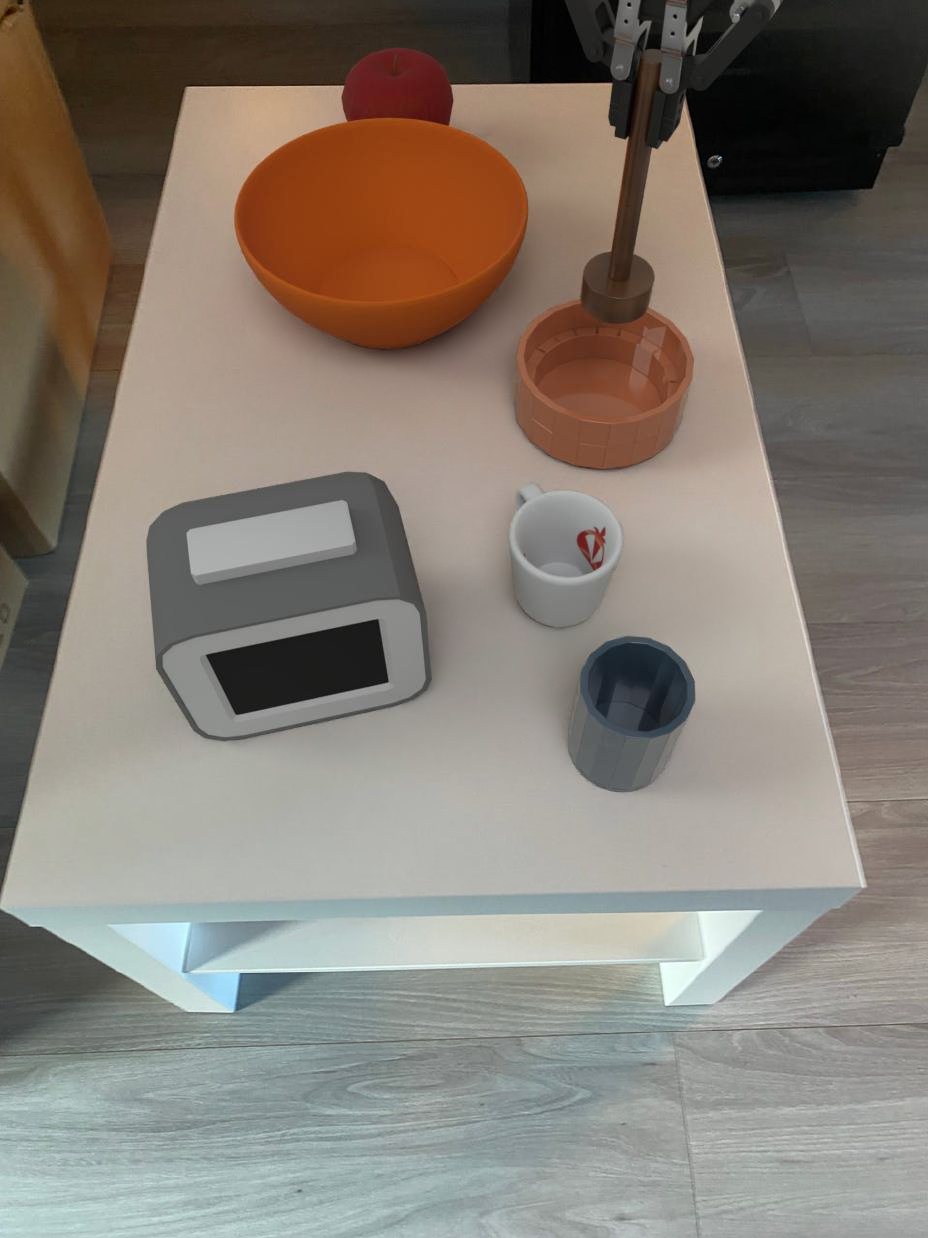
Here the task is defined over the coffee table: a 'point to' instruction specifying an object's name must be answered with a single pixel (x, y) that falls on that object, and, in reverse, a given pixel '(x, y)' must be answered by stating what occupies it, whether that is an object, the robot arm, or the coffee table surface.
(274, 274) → the bowl
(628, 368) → the mixing bowl
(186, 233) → the coffee table surface
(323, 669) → the alarm clock
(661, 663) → the utensil crock
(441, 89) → the apple
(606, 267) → the wooden plunger
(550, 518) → the cup
